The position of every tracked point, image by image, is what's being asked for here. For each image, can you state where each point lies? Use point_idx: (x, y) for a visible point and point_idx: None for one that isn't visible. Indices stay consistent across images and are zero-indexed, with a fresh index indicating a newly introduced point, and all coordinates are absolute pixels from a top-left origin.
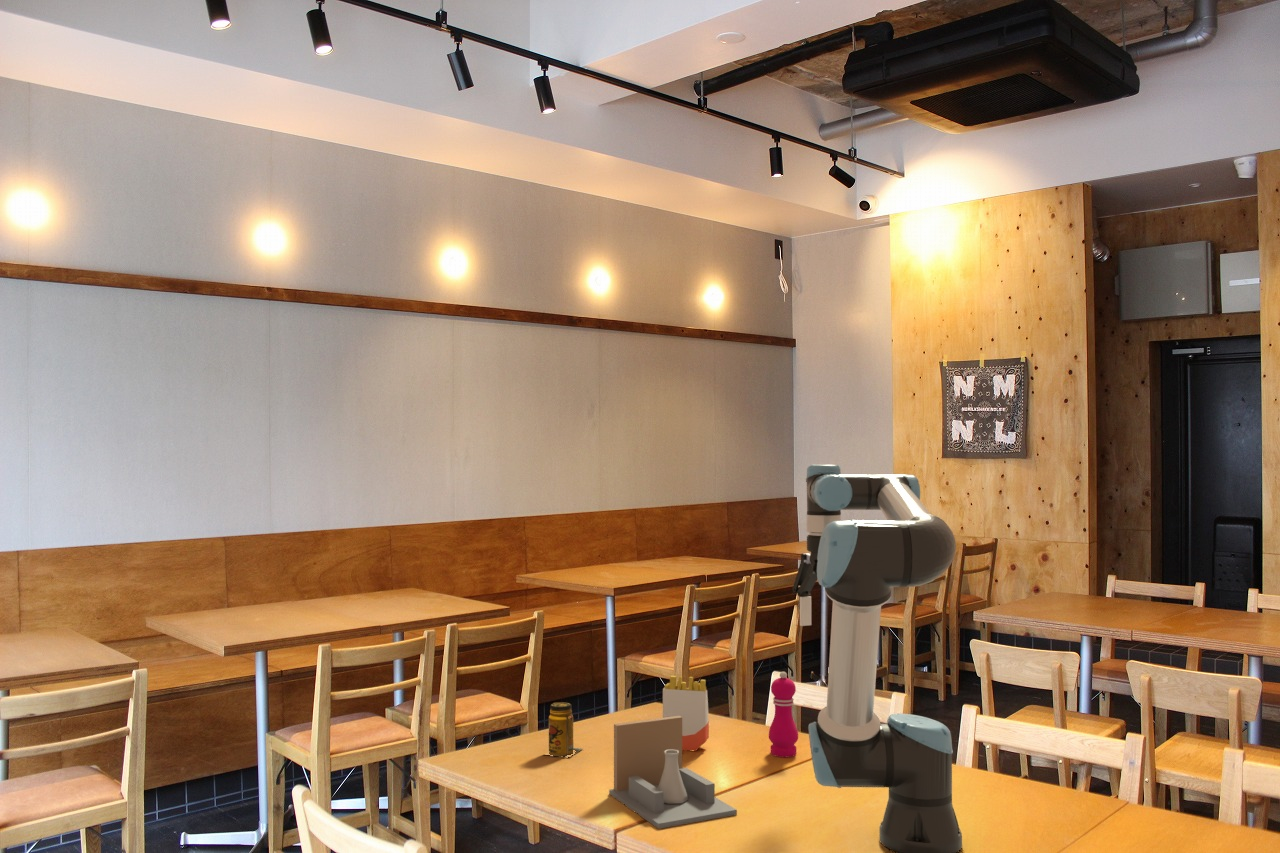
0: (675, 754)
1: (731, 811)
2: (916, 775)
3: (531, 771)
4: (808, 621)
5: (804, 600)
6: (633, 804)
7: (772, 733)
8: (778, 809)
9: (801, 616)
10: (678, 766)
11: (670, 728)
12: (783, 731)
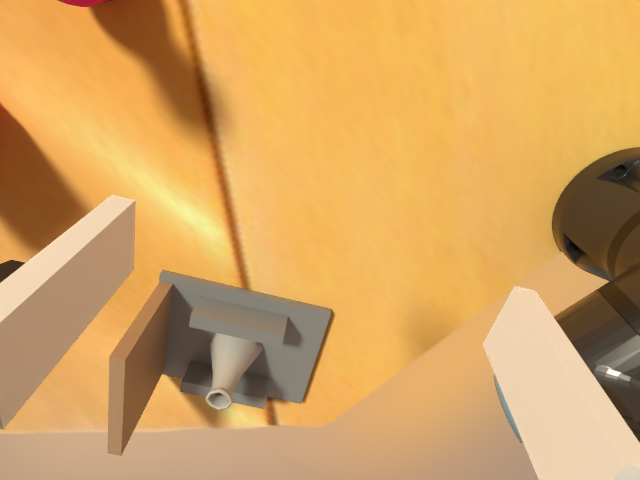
0: (232, 401)
1: (328, 319)
2: None
3: None
4: (122, 234)
5: (24, 377)
6: None
7: (71, 4)
8: (358, 253)
9: (101, 307)
10: (233, 376)
11: (133, 365)
12: None
